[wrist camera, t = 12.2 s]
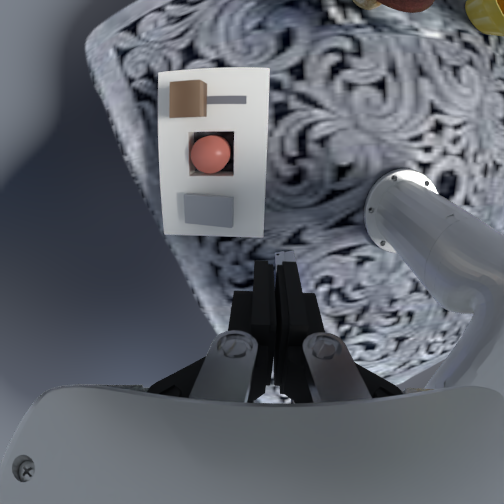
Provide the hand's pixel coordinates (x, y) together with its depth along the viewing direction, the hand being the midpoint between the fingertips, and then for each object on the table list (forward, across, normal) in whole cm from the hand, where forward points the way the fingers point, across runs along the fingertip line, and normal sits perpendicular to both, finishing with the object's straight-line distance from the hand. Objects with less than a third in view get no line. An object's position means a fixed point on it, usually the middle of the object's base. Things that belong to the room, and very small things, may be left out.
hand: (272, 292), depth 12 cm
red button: (+25, +6, -2) cm, 26 cm away
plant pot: (+27, -34, -32) cm, 54 cm away
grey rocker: (+23, +6, +4) cm, 24 cm away
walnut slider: (+24, +9, -9) cm, 27 cm away
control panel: (+27, +6, -2) cm, 28 cm away
